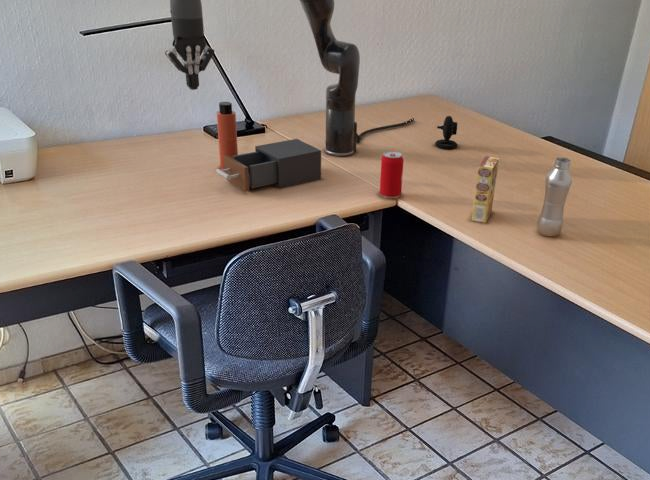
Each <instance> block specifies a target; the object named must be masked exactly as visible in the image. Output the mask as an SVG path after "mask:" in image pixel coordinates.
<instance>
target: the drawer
mask: <svg viewBox="0 0 650 480" xmlns="http://www.w3.org/2000/svg"><path fill="white" fill-rule="evenodd" d="M224 166H225V169H223V170H221V168H217V169H215V173H216V174H217V175H218V176H220V177H222V178H223V179H225V180H226V181H227V182H229V183H231V184H233V185H234V186H235V187H237V188H239V189H240V190H242V191H244V192H245V193H247V192H250V188H251V189H256V188H260V187H264V186H269V185H273V184H274V183H278V164H277V160H275V159H273V158H271V157H269V156H268V155H266V154H264V153H262V152H260V151H257V152H255V151H251V152H246V153H240V154H238V155H235V156H233V158H231V157H229V156H228V155H226V156H224Z"/></svg>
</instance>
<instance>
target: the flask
mask: <svg viewBox="0 0 650 480" xmlns="http://www.w3.org/2000/svg"><path fill="white" fill-rule="evenodd" d="M218 108H219V109H218V111H216V113H215V114H216V125H217V127H216V128H217V139H218V152H219V165H220V170H223V169H225V166H224V156H226V155H228V156H229V157H231V158H233V156H235V155H239V149H238V134H237V133H238V132H237V118H236V117H237V116H236V111H234V110H233V104H232V102H230V101H220V102H219V103H218Z"/></svg>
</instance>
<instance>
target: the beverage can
mask: <svg viewBox="0 0 650 480" xmlns="http://www.w3.org/2000/svg"><path fill="white" fill-rule="evenodd" d="M404 160H405V159H404V158H403V153H402V152H399V151H395V150H389V151H387V150H386V151H384V152H383V155H382V157H381V159H380V161H381V162H380V180H379V181H380V182H379V194H380V196H382V197H384V198H385V199H397V198H399V197H400V196H401V195H402V190H403V189H402V188H403V175H404Z"/></svg>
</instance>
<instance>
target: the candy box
mask: <svg viewBox="0 0 650 480" xmlns="http://www.w3.org/2000/svg"><path fill="white" fill-rule="evenodd" d="M499 163H500V158H498V157H493V156H487V155H485V156H484V158H483V159H482V161H481V162H480V163H479V165H478V168H477V175H476V183H475V191H474V199H473V207H472V215H471V216H472V217H471V221H472V222H478V223H483V224H485V223H487V221H488V220H489V218H490V215H491V213H492V211H493V203H494V197H495V188H496V184H497V183H496V181H497V177H498V169H499Z"/></svg>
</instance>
